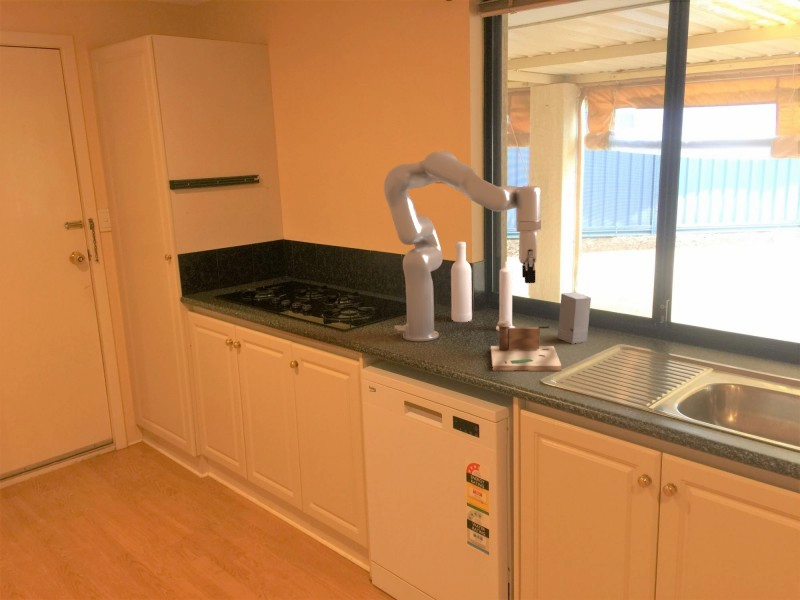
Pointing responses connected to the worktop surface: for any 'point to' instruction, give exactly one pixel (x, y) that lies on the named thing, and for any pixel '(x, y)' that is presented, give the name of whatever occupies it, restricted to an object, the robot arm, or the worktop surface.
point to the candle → (505, 295)
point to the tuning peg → (518, 337)
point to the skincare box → (574, 317)
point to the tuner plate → (526, 359)
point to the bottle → (461, 286)
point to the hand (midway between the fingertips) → (528, 280)
